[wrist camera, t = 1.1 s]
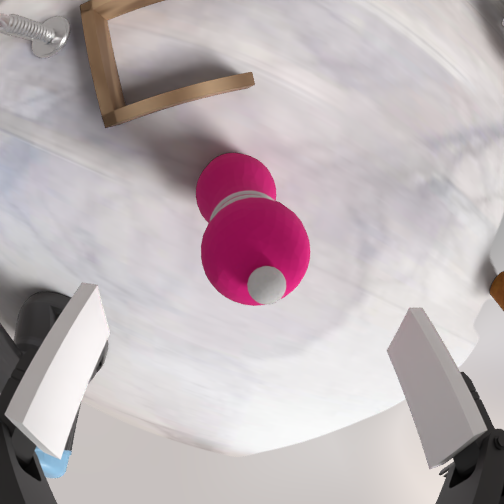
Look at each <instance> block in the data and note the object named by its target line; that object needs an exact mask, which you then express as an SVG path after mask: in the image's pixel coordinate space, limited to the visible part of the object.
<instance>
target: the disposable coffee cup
mask: <svg viewBox="0 0 504 504" xmlns="http://www.w3.org/2000/svg"><path fill="white" fill-rule="evenodd" d="M490 295H491V296H492V297H493V298H494V299H495V301H496V302H497V303H498V304H499V306H500V307H501V308H502V309H503V311H504V271H503V272H501V273H500V274H499V275H498V276H497V277H496V278H495V280H494V281H493V283H492V285H491V288H490Z"/></svg>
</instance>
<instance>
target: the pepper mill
mask: <svg viewBox="0 0 504 504" xmlns="http://www.w3.org/2000/svg"><path fill="white" fill-rule="evenodd" d="M196 199H197V205H198V207H199V210H200V212H201V214H202V216H203V217H204V218H205V220H206V221H207V222H208V223H209V224H208V226H207V228H206V230H205V233H204V235H203V239H202V244H201V259H202V265H203V268H204V271H205V274H206V276H207V277H208V279H209V281H210V283H211V284H212V285H213V286H214V287H215V288H216V289H217V291H218V292H220V293H221V294H222V295H224V296H225V297H226V298H228V299H230V300H232V301H235V302H238V303H241V304H245V305H253V306H255V305H267V304H273V303H276V302H277V301H278V300H280V299H282V298H284V297H285V296H286V295H288V294H289V293H290V292H292V291H293V290H294V289H295V288H296V287H297V286H298V284H299V283H300V281H301V280H302V278H303V277H304V275H305V273H306V270H307V268H308V264H309V259H310V244H309V239H308V236H307V233H306V230H305V228H304V226H303V224H302V222H301V221H300V219H299V218H298V217H297V216H296V214H295V213H294V212H292V211H291V210H290V209H288V208H287V207H285V206H284V205H283V204H281V203H280V202H277V201H275V200H276V187H275V183H274V180H273V178H272V176H271V174H270V172H269V171H268V169H267V168H266V167H265V166H264V165H263V164H262V163H261V162H260V161H258V160H257V159H255V158H253V157H251V156H248V155H244V154H239V153H226V154H223V155H220V156H218V157H216V158H215V159H213V160H212V161H211V162H210V163H209V164H208V166H207V167H206V168H205V169H204V170H203V172H202V173H201V175H200V177H199V179H198V182H197V187H196Z"/></svg>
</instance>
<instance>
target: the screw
mask: <svg viewBox="0 0 504 504" xmlns="http://www.w3.org/2000/svg"><path fill="white" fill-rule="evenodd" d="M70 30H71V28H70V23H69V21H68V20H67V19H66V18H64V17H61V16H56V17H52V18H50V19H48V20H46V21H45V22H44V23H42V24H41V23H38V22H35V21H33V20H30V19H28V18H25V17H22V16H19V15H15V14H11V15H9V16H8V15H5V14H2V13H0V32H1V33H4V34H8V35H11V36H15V37H19V38H23V39H28V40H31V41H32V51H33V53H34V54H35V55H36V56H37V57H40V58H49V57H51V56H53V55H55V54H57V53H58V52H59V51H60V50H61V49H62V48H63V47H64V45H65V44H66V42H67V40H68V38H69V35H70Z"/></svg>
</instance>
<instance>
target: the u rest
mask: <svg viewBox="0 0 504 504" xmlns="http://www.w3.org/2000/svg"><path fill="white" fill-rule="evenodd" d="M161 1H164V0H90V1H88V2H86V3H83V4H81V5H80V10H81V18H82V24H83V31H84V37H85V43H86V48H87V53H88V59H89V63H90V68H91V73H92V78H93V82H94V86H95V91H96V95H97V99H98V103H99V107H100V111H101V114H102V118H103V122H104V126H105V128H107V127H111V126H116V125H120V124H123V123H125V122H128V121H131V120H133V119H136V118H139V117H142V116H145V115H148V114H151V113H154V112H157V111H160V110H163V109H166V108H170V107H173V106H176V105H180V104H183V103H187V102H190V101H194V100H198V99H202V98H206V97H210V96H214V95H218V94H222V93H227V92H232V91H236V90H241V89H246V88H249V87H251V86H253V85H255V83H254V78H253V74H252V72H248V73H243V74H238V75H233V76H228V77H223V78H219V79H214V80H210V81H206V82H202V83H198V84H194V85H190V86H186V87H183V88H179V89H176V90H172V91H169V92H166V93H163V94H159V95H156V96H153V97H150V98H147V99H144V100H141V101H139V102H136V103H133V104H130V105H128V106H126V104H125V100H124V96H123V92H122V88H121V84H120V80H119V76H118V71H117V67H116V62H115V58H114V53H113V48H112V43H111V38H110V33H109V28H108V22H107V20H110V19H112V18H115V17H117V16H120V15H122V14H125V13H128V12H130V11H133V10H136V9H139V8H142V7H145V6H148V5H151V4H154V3H158V2H161Z"/></svg>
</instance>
